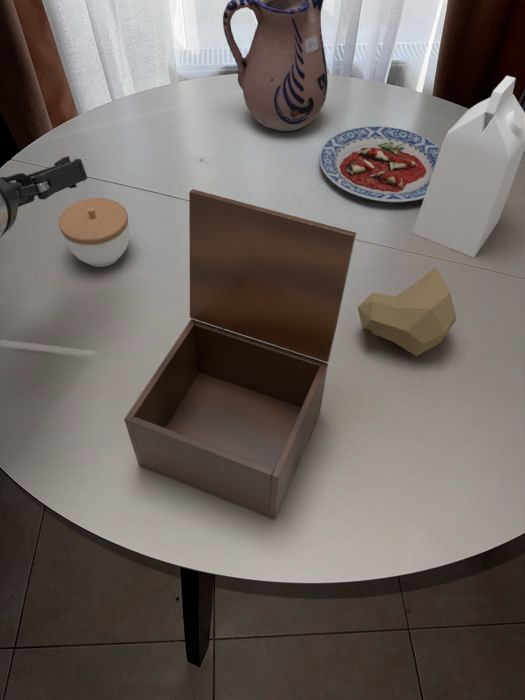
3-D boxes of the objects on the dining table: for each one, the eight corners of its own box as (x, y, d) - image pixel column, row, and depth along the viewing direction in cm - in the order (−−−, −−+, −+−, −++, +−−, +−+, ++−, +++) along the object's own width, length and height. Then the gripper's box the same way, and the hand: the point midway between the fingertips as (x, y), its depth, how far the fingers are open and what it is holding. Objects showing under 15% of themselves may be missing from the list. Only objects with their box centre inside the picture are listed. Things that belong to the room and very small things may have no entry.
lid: (354, 235, 58) (356, 232, 59) (189, 191, 63) (192, 188, 63) (327, 362, 70) (329, 358, 70) (189, 318, 74) (192, 314, 75)
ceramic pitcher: (334, 136, 123) (350, 8, 104) (238, 150, 119) (235, 19, 100) (309, 97, 134) (318, -27, 114) (219, 108, 130) (214, -18, 111)
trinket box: (60, 272, 95) (45, 227, 88) (82, 231, 102) (70, 186, 95) (124, 279, 94) (113, 234, 87) (142, 237, 101) (133, 192, 94)
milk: (439, 199, 109) (481, 58, 89) (498, 221, 105) (556, 79, 85) (412, 232, 103) (451, 89, 83) (474, 258, 99) (530, 113, 79)
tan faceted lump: (458, 324, 90) (414, 264, 90) (491, 310, 79) (440, 243, 80) (382, 379, 88) (338, 318, 89) (405, 374, 77) (354, 304, 78)
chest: (275, 520, 69) (278, 478, 61) (138, 465, 73) (123, 419, 65) (320, 412, 79) (328, 363, 70) (197, 369, 83) (191, 318, 75)
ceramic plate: (411, 228, 104) (415, 215, 102) (293, 177, 113) (294, 164, 111) (470, 163, 117) (474, 150, 115) (359, 122, 127) (361, 109, 124)
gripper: (-127, 272, 63) (-55, 226, 82) (99, 216, 63) (117, 183, 82) (-164, 203, 59) (-80, 172, 78) (74, 145, 60) (100, 128, 79)
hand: (21, 178), depth 80 cm, fingers open, 13 cm apart
